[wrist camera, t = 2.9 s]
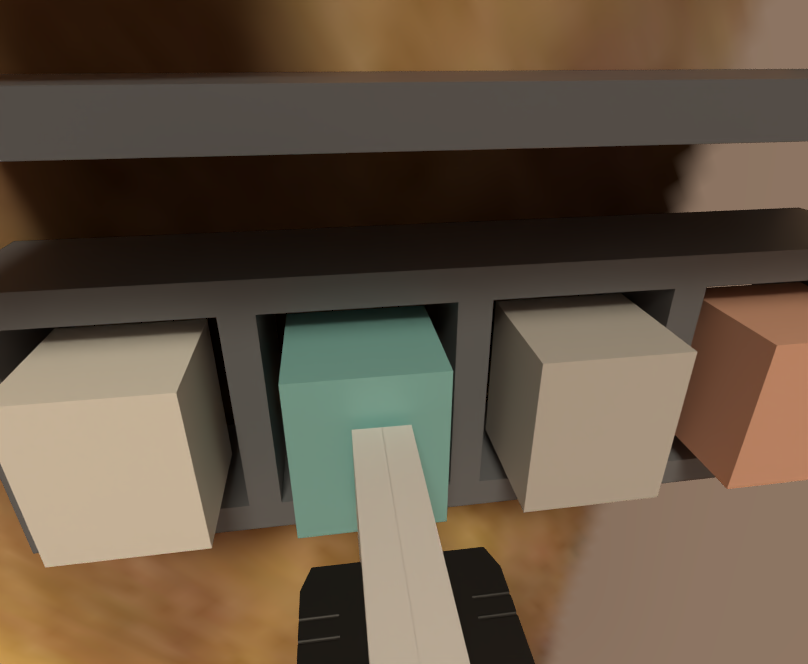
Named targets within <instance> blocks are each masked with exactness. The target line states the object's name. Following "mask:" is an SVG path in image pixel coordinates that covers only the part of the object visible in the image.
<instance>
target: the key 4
mask: <svg viewBox="0 0 808 664" xmlns="http://www.w3.org/2000/svg"><path fill="white" fill-rule="evenodd" d="M691 347H692V348H693V349H695V350H696V351H697V355H696V359H695V363H694V366H693V370H692V374H691V377H690V381H689V384H688V388H687V392H686V395H685V399H684V403H683V406H682V410H681V414H680V417H679V421H678V424H677V428H676V432H675V435H676V436H677V437H678V438H679V439H680V440H681V442H682V443H683V444H684V445H685V446H686V447H687V448H688V449H689V450H690V451H691V452H692V453H693V454H694V455H695V456H696V457H697V458H698V459H699V460H700V461H701V462H702V463H703V464H704V465H705V467H706V468H707V469H708V470H709V471H710V472H711V473H712V474H713V475H714V476H715V477H716V478H717V479H718V480H719V481H720V482H721V483H722V484H723V485H724V486H725V487H726V488H727V489H731V488H740V487H749V486H757V485H766V484H775V483H784V482H792V481H801V480H808V286H807V285H805V284H803V283H800V282H792V283H776V284H760V285H744V286H730V287H712V288H706V291H705V295H704V299H703V303H702V306H701V310H700V314H699V318H698V321H697V325H696V329H695V333H694V336H693V340H692V344H691Z"/></svg>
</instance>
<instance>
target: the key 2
mask: <svg viewBox="0 0 808 664" xmlns="http://www.w3.org/2000/svg"><path fill="white" fill-rule="evenodd" d="M278 386H279V394H280V402H281V409H282V417H283V425H284V433H285V441H286V449H287V457H288V465H289V472H290V480H291V488H292V496H293V504H294V512H295V520H296V528H297V535H298V538H305V537H314V536H323V535H331V534H340V533H349V532H357V531H358V528H357V514H356V498H355V480H354V463H353V446H352V430H355V429H367V428H379V427H391V426H403V425H412V429H413V433H414V437H415V441H416V445H417V449H418V453H419V457H420V461H421V465H422V469H423V474H424V478H425V482H426V486H427V490H428V494H429V498H430V502H431V506H432V510H433V514H434V518H435V523H436V522H444V521H447V501H448V479H449V456H450V433H451V410H452V388H453V369H452V367H451V365H450V363H449V360H448V358H447V356H446V354H445V351H444V349H443V347H442V345H441V342H440V340H439V338H438V335H437V333H436V331H435V329H434V326H433V324H432V322H431V320H430V317H429V315H428V313H427V311H426V308H425V306H408V307H392V308H376V309H360V310H344V311H328V312H312V313H296V314H286V323H285V332H284V340H283V349H282V358H281V366H280V375H279V384H278Z"/></svg>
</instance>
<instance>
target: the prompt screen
mask: <svg viewBox="0 0 808 664" xmlns="http://www.w3.org/2000/svg"><path fill="white" fill-rule="evenodd" d="M799 141H808V69H717V70H555V71H393V72H231V73H69V74H0V162H3V161H42V160H82V159H121V158H161V157H206V156H246V155H285V154H325V153H358V152H398V151H438V150H483V149H522V148H562V147H599V146H635V145H675V144H720V143H756V142H799Z"/></svg>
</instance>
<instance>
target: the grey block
mask: <svg viewBox="0 0 808 664" xmlns="http://www.w3.org/2000/svg"><path fill="white" fill-rule="evenodd" d="M696 355H697V351H696V350H695V349H693V348H692V347H691V346H689V345H688V344H687V343H685V342H684V341H683V340H681V339H680V338H679V337H677V336H676V335H675V334H674V333H672V332H671V331H670V330H668V329H667V328H666V327H664V326H663V325H662V324H660V323H659V322H658V321H656V320H655V319H654V318H653V317H651V316H650V315H649V314H647V313H646V312H645V311H643V310H642V309H641V308H639V307H638V306H637V305H635V304H634V303H633V302H632V301H630V300H629V299H628V298H626V297H625V296H624V295H622V294H621V293H616V294H600V295H584V296H568V297H552V298H536V299H520V300H504V301H496V306H495V319H494V331H493V344H492V356H491V369H490V381H489V394H488V406H487V419H486V431H487V434H488V436H489V438H490V440H491V442H492V444H493V447H494V449H495V451H496V453H497V455H498V457H499V460H500V462H501V464H502V466H503V468H504V470H505V473H506V475H507V477H508V479H509V481H510V484H511V486H512V488H513V490H514V492H515V494H516V497H517V499H518V501H519V503H520V505H521V507H522V510H523V512H531V511H540V510H549V509H557V508H566V507H575V506H584V505H592V504H601V503H610V502H618V501H627V500H635V499H644V498H653V497H657V496H658V493H659V490H660V486H661V483H662V479H663V475H664V472H665V468H666V464H667V461H668V457H669V454H670V450H671V446H672V443H673V439H674V435H675V432H676V428H677V424H678V421H679V417H680V414H681V410H682V406H683V403H684V399H685V395H686V392H687V388H688V384H689V381H690V377H691V374H692V370H693V366H694V363H695V359H696Z"/></svg>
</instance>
